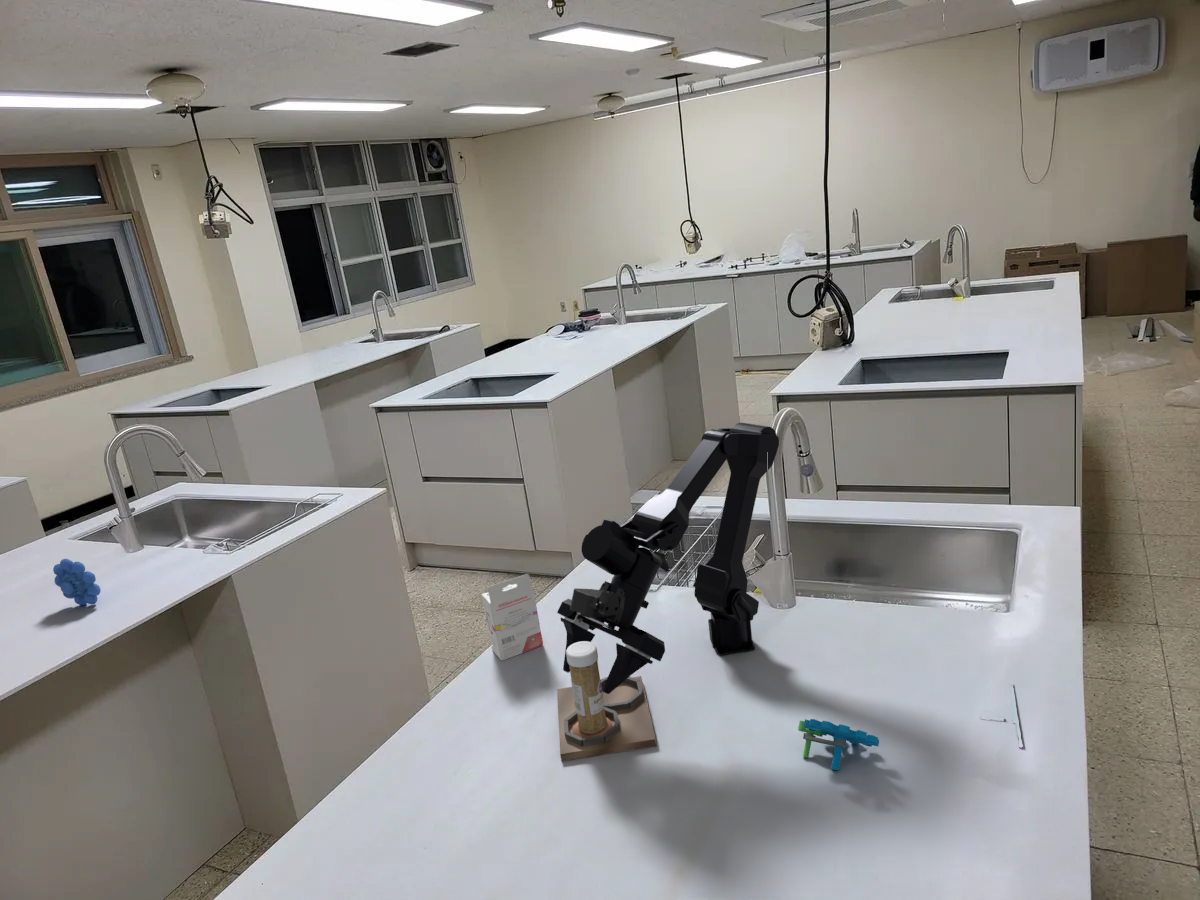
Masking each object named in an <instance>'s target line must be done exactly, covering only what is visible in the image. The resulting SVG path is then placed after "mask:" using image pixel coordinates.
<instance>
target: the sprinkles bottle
mask: <svg viewBox="0 0 1200 900" xmlns="http://www.w3.org/2000/svg"><path fill="white" fill-rule="evenodd" d="M565 650H566V649H565ZM566 656H567V662H568V664H569V667H570V672H569V673H570V677H571V678H570V682H571V687H572V689H573V695H574V702H575V708H576V712H577V716H578V728H579V730H580V731H581V732H582V733H585V734H596V733H599V732H601V731H603V730H604V729H605V728H606V726H607V719H606V715H605V708H604V699H603V692H602V686H601V677H600V669H599V664H598V661H599V654H598V648H597V645H596V644H595V643H593V641H591V642H588V641H581V642H576V643H574V644H572V645H570V646H569V647H568V648H567V650H566Z"/></svg>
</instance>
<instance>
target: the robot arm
mask: <svg viewBox="0 0 1200 900" xmlns="http://www.w3.org/2000/svg"><path fill="white" fill-rule="evenodd" d="M700 441H701V442H700V443H699V444H698V446H697V447H696V448H695V450H694V451H693V453H692V454H691V455H690V456H689V458H688V459H687V461H685V463H684V465H683V466H682V467H681V469H680V470H679V471H678V473H677V474H676V476H675V477H674V478H673V480H671V482H670V483H669V485H668V486H667V487H666V489H665V490H664V491H663V492H661V493H660V494H658V495H656V496H654V497H652V498H650V499H648V500H647V501H646V502H645V503H644V504H643V505H642V506H641V507H640V508H639V509H638V510H637V511H636V512H635V514H634V515H633V517H631V518H629V519H628V520H626V522H623V523H622V524H621V525H620V524H619V523H617V522H616V521H614V520H612V519H609V518H604V519H603V521H602V523H601V525H598V526H596V527H594V528H593V529H591V530H590V531H589V532H588V533H587V534H585V536H584V538H583V540H582V544H581V554H582V557H583V558H584V559H586V561H588V562H589V563H592V564H593V565H594V566H597V567H598V568H600V569H601V570H603V571H605V573H608V574H610V575H611V576H613V577H612V579H611V581H610V582H608V581H604V582H602V584H601V586H600V587H599V589H594V588H573V593H572V598H567V599H565V600H563V601H562V602H561V604H560V606H559V608H558V609H557V612H556V614H558V615H560V616H562V617H560V622H562V623H563V625H564V628H565V632H566V641H565V642H566V643H565V650H564V651H565V652H564V660H563V665H562V667H563V668H562V670H563V672H566V673H570V667H569V664H568V662H567V656H566V650H567V648H568V647H569V646H570V645H572V644H574V643H576V642H581V641H588V642H593V639H594V637H596V634H595V633H593V632H592V631H594V630H599V631H602V632H603V633H606V634H608V635H611V636H612V637H614V638H617V639H619V640H621V642H622V644H625V646H624V645H622V644H620V643H618V642H616V643H615V646H616V647H615V648H616V649H615V650H616V657H615V660H614V661H613V664H612V667H611V669H610V671H609V673H608V676H607V677H608V678H607V680H606V683H605V686H604V689H603V692H605V693H607V694H610V693H611V692H612V691H613V690H614V689H615V688H617V687H618V686H619V685H620V684H621V683H622V682H623V681H625V680H626V679H627V678H628V677H632V675H633V674H634V673H637V671H638V670H640V669H641V668H643V667H644V666H646V665H647V664H650V665H652V664H653V660H651V659H654V660H656V661H658V662H661V661H662V659H663V657H664V654H665V652H666V646H665V641H663V640H662V639H660V638H658V637H656V636H654V635H653V634H651V633H649V632H648V631H645V630H643V629H640V628H639V627H637V626H635V625H634V623H635V621H636V619H637V617H638V615H639V612H640V610H641V608H643V609H645V610H647V608H648V607H649V604H650V602H648V601H647V600H645V599H646V597H647V595H648V593H649V590H650V589H651V587H652V585H653V582H654V581H655V579H656V578H655V577H656V576H657V573H658V571H662V572H666V573H667V572H669V571H670V567H669V564H668V562H667V559H666V554H665V553H662V552H660V551H665V552H666V551H667V552H668V551H673V550H674V549H675V548H677V546H678V545H679V544H680V543H681V540H682V538H683V537H684V535H685V533H686V531H687V529H688V528H689V525H690V512H691V511H692V508H693V507H694V505H695V504H696V502H697V501H698V500H699V498H700V497H701V496H702V494H703V493H704V491H705V490H706V488H707V487H708V485H709V484H710V483H711V482H712V481H713V479H714V478H715V476H716V475H717V473H718V472H719V470H720V469H721V468H722V466H723V465H724V464H725V462H727V465H728V469H729V472H730V476H729V481H728V484H727V489H726V494H725V499H724V503H723V508H722V512H721V518H720V521H719V525H718V526H719V527H718V531H717V537H716V541H715V545H714V549H713V554H712V556H711V557H710V558H709V559H708V561H707V562H705V564H703V563H699V565H698V566H697V569H696V577H695V580H694V582H693V584H692V587H694V597H695V598H696V601H697V603H698V604H699V605H700V606H701V608H702V611H706V612H708V613H710V618H709V619H708V620H707V622H708V632H709V633H708V634H709V640H710V643H711V646H712V647H713V648H715V650H716V653H717V655H719V656H722V655H729V654H735V653H739V652H740V653H741V652H748V651H753V650H754V651H755V649H756V645H755V643H754V641H753V635H752V625H751V623H752V622H751V621H753V620H754V616H755V615H758V613H759V605H760V603H759V602H760V601H759V600H757V599H756V598H755V597H753V596H751V594H749V593H747V591H748V581H749V580H748V576H747V573H746V571H745V567H744V563H743V560H744V554H745V550H746V545H747V541H748V535H749V533H750V532H749V531H750V526H751V522H752V519H753V518H752V517H753V514H754V507H755V504H756V499H757V494H758V489H759V484H760V482H761V481H760V480H761V478H762V477H763V476H764V475H765V474H766V473H767V472H768V471H769V470H770V469H771V468H772V467H773V465H774V461H775V459H776V456H777V452H778V450H779V446H780V438H779V436H778V435H777V432H776V430H775V429H774V428H773V427H772V426H767V425H760V424H755V423H753V424H752V423H747V422H737V423H736V424H734V425H733V427H726V428H723V427H722V428H718V429H714V428H711V429H709V430H706V431H705V432H704V433H703V435H702V437H701V440H700ZM767 452H768V471H767ZM651 550H652V551H653V552H652V551H651ZM657 550H660V551H657ZM616 627H617V628H618V629H616ZM589 630H591V631H589Z"/></svg>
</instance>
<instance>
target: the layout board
mask: <svg viewBox="0 0 1200 900" xmlns="http://www.w3.org/2000/svg"><path fill="white" fill-rule="evenodd" d="M607 678H608V676H605V677H603V678H602V679H601V678H600V680H601V686H602V692H603V689H604V686H605V683H606V680H607ZM644 687H645V686H644V682H643V677H642V676H641V675H640V676H629V677H628V678H627V679H626V680H625V681H623V682H622V683H621V684H620V685H619V686H618V687H617V688H615V689H614V690H613V691H612V692H611V693H610V694H607V693H605V692H603V699H604V708H605V715H606V719H607V726H606V728H605V729H604V730H603V731H601V732H599V733H596V734H585V733H582V732H581V731H580V730H579V728H578V716H577V712H576V708H575V702H574V695H573V689H572V686H569V687H563V688H562V687H561V688H557V689H556V692H557V693H556V694H557V695H556V697H557V715H558V716H557V717H558V720H557V721H558V733H559V734H558V735H559V736H558V738H559V755H560V759H561V760H560V761H561V762H564V761H571V760H577V759H583V758H589V757H596V756H603V755H609V754H614V753H615V754H616V753H619V752H620V753H622V752H626V751H627V752H628V751H632V750H633V751H634V750H641V749H646V748H651V747H653V748H654V747H657V739H656V735H655V730H654V727H653V726H654V725H653V721H652V717H651V714H650V710H649V709H650V708H649V704H648V700H647V699H648V698H647V695H646V692H645V688H644Z"/></svg>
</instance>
